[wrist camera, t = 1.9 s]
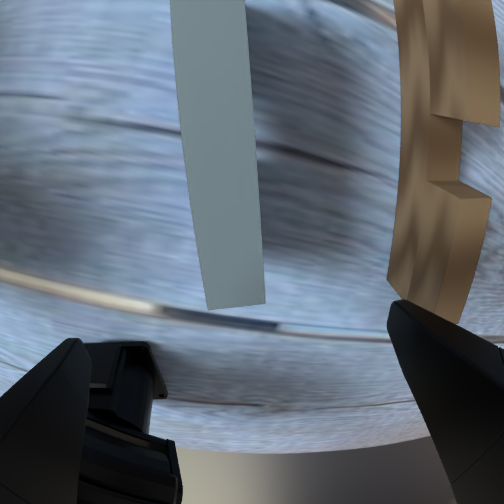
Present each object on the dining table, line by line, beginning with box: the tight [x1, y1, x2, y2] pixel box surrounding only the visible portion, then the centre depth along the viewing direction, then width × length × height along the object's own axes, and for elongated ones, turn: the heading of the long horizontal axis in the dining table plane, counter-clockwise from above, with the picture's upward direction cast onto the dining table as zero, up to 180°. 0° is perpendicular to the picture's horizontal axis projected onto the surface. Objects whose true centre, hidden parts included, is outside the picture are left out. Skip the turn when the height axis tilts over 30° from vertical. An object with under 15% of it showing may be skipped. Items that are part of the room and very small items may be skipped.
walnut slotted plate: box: [387, 0, 500, 324], centre depth 14 cm, size 20×2×6 cm, turn 4°
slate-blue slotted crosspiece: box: [170, 0, 266, 310], centre depth 13 cm, size 14×2×6 cm, turn 4°
